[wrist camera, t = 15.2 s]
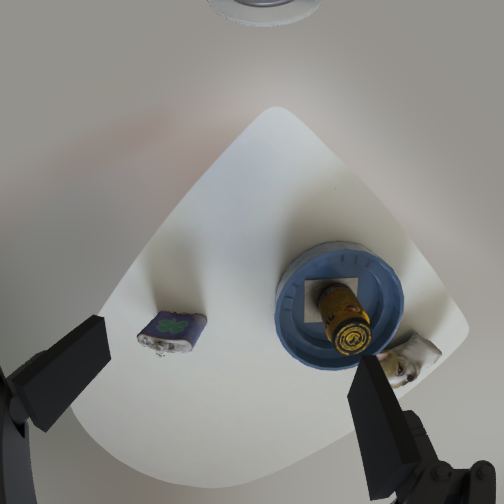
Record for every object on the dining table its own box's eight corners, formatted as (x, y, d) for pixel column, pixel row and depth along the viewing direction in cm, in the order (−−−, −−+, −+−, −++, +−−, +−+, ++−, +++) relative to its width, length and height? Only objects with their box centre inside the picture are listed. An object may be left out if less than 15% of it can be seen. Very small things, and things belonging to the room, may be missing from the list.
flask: (207, 313, 46) (187, 347, 35) (208, 329, 46) (190, 364, 36) (157, 309, 47) (129, 338, 36) (159, 323, 47) (132, 354, 37)
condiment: (354, 319, 43) (375, 359, 31) (304, 322, 44) (310, 365, 32) (357, 277, 41) (382, 308, 29) (304, 279, 42) (312, 313, 30)
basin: (284, 233, 41) (284, 241, 36) (401, 249, 40) (417, 258, 34) (269, 345, 46) (267, 365, 40) (373, 352, 44) (383, 371, 39)
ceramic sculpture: (450, 378, 35) (375, 417, 39) (433, 352, 43) (368, 387, 47) (440, 336, 33) (356, 382, 37) (421, 312, 42) (349, 352, 46)
